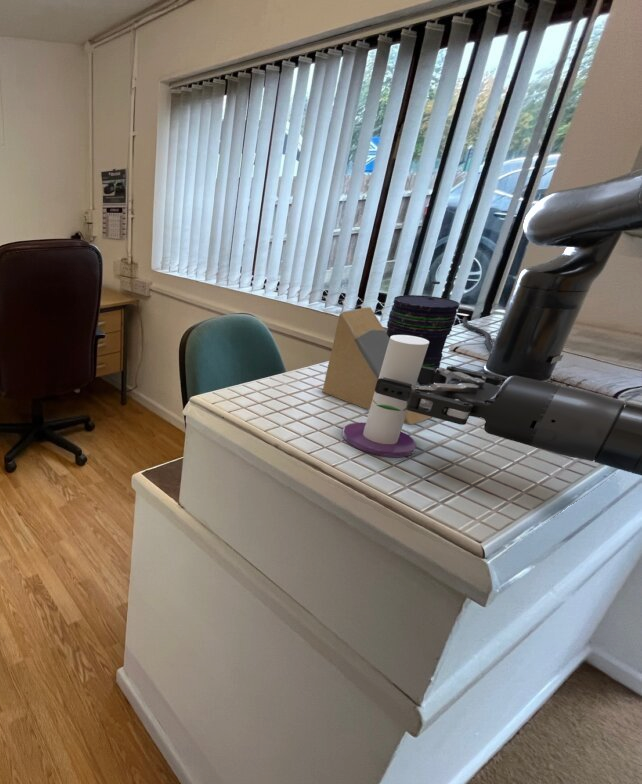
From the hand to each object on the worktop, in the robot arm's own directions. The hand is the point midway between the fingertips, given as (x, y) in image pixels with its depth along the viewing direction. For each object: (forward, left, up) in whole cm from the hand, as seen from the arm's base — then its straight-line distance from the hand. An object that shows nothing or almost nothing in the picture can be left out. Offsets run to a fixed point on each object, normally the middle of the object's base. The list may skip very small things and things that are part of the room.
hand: (389, 376), depth 64 cm
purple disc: (0, +1, -10) cm, 10 cm away
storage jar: (-32, +5, -10) cm, 34 cm away
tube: (0, +1, -9) cm, 10 cm away
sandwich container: (-15, +1, -10) cm, 18 cm away
